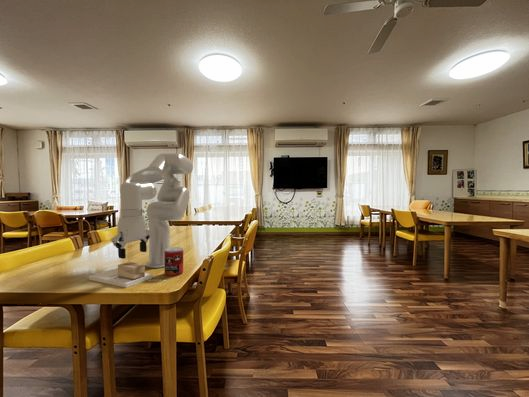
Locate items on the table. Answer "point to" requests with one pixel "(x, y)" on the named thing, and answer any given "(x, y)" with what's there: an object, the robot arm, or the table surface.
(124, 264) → the block
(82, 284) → the table surface
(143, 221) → the robot arm
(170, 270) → the canned food
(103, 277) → the board
